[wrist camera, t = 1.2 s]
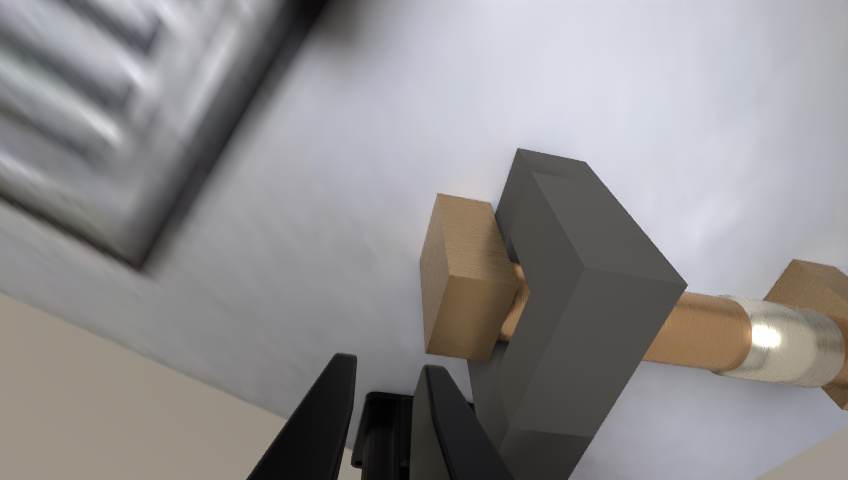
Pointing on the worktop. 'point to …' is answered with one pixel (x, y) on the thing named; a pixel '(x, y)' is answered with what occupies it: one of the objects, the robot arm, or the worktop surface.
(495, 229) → the square head rod
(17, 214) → the worktop surface
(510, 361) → the dark grey square ring
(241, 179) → the worktop surface
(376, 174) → the worktop surface
